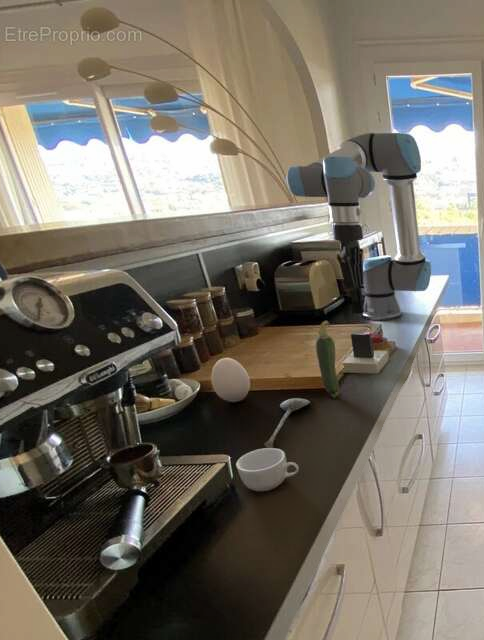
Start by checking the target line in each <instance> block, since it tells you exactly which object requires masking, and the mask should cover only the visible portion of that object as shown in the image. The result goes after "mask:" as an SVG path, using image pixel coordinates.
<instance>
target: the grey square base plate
mask: <svg viewBox="0 0 484 640" xmlns="http://www.w3.org/2000/svg"><path fill="white" fill-rule="evenodd" d="M347 355H348V354H347ZM389 357H390V356H388V351H374V356H373V357H372V358H363V357H354V353H353V352H352V353H351V354H350V355H348V357H347V358H346V359H345V360H344V361H343V362H342V363H343V365H344V369H342V370H341V371H340V370H339V371H340V373H349V374H353V373H355V374H379V373H380V371H382V369H383V368H384V367H385V366H386V364H387V363H388V362H389V361H390V358H389Z"/></svg>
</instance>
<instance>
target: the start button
mask: <svg viewBox="0 0 484 640" xmlns="http://www.w3.org/2000/svg"><path fill="white" fill-rule="evenodd" d="M383 337H384V335H383V333H372V341H373V343H379V342H383Z"/></svg>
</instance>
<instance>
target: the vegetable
mask: <svg viewBox="0 0 484 640" xmlns="http://www.w3.org/2000/svg"><path fill="white" fill-rule="evenodd" d="M327 327H330V323H329V321H328V320H324V321H323V322H321V323H320V326H319V329H318V337H317V339H316V342H315V351H316V356H317V361H318V367H319V371H320V376H321V381H322V384H323V387H324V390H325V391H326V392H327V394H329V395H331V397H333V398H334V399H336V397H338V395H339V394H340V384H339V380H338V379H339V378H338V375H337V372H336V344H335V341H334V339H333V337H331V336H329V335H328V334H329V333H328V329H327Z"/></svg>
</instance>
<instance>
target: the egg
mask: <svg viewBox="0 0 484 640" xmlns="http://www.w3.org/2000/svg"><path fill="white" fill-rule="evenodd" d="M210 379H211V386H212V388H213V390H214V393H216V395H217V396H218V397H219V398H220V399H222V400H224V401H226V402H229V403H238V402H241V401H243V400H244V399H246V397H247V395H248V393H249V391H250V388H251V379H250V377H249V373H248V372H247V370H246V369H245V368H244V367H243V365H242V364H241V363H240V362H239V361H237V360H235V359H233V358H231V357H223V358H220V359H219V360H218V361H216V363H214V365H213V367H212V371H211V376H210Z"/></svg>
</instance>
